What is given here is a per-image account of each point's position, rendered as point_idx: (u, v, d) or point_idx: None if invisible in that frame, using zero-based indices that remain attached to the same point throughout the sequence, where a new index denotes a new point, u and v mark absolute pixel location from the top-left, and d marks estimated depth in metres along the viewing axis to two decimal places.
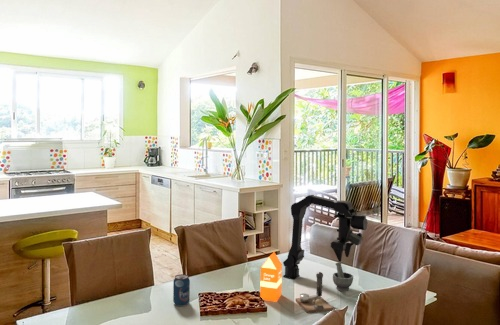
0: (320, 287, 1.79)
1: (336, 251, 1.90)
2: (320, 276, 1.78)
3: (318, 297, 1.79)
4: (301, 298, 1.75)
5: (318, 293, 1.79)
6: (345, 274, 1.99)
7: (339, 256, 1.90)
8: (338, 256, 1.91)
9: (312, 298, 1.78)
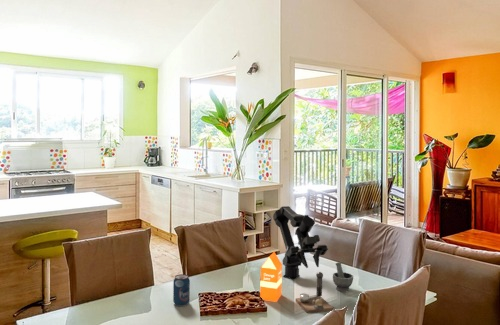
0: (320, 287, 1.79)
1: (300, 259, 1.90)
2: (320, 276, 1.78)
3: (318, 297, 1.79)
4: (301, 298, 1.75)
5: (318, 293, 1.79)
6: (345, 274, 1.99)
7: (303, 262, 1.88)
8: (303, 263, 1.88)
9: (312, 298, 1.78)
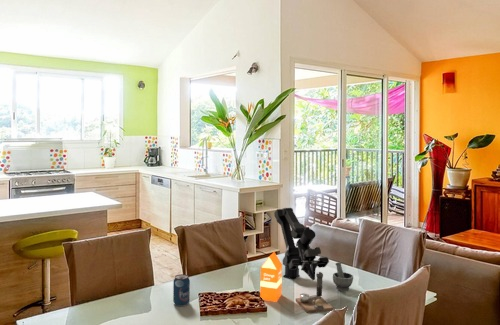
0: (320, 287, 1.79)
1: (306, 271, 1.89)
2: (320, 276, 1.78)
3: (318, 297, 1.79)
4: (301, 298, 1.75)
5: (318, 293, 1.79)
6: (345, 274, 1.99)
7: (310, 274, 1.87)
8: (309, 275, 1.87)
9: (312, 298, 1.78)
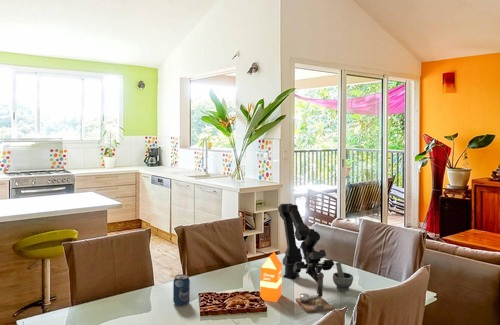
0: (321, 287, 1.78)
1: (311, 274, 1.84)
2: (320, 276, 1.78)
3: (319, 298, 1.79)
4: (301, 298, 1.75)
5: (319, 293, 1.79)
6: (345, 274, 1.99)
7: (314, 277, 1.82)
8: (314, 278, 1.82)
9: (312, 298, 1.77)
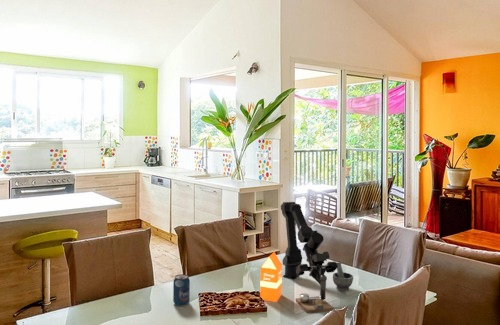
0: (322, 290, 1.75)
1: (315, 277, 1.81)
2: (322, 279, 1.75)
3: None
4: (300, 297, 1.76)
5: (320, 296, 1.76)
6: (345, 274, 1.99)
7: (318, 280, 1.79)
8: (318, 281, 1.79)
9: None
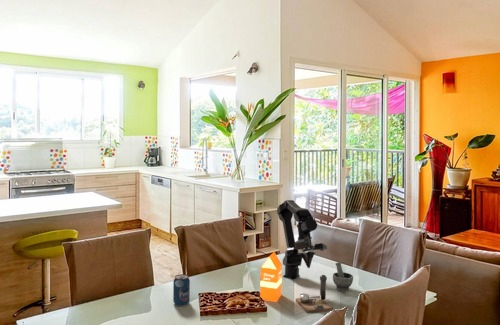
0: (322, 290, 1.75)
1: None
2: (322, 279, 1.75)
3: None
4: (300, 297, 1.76)
5: (320, 296, 1.76)
6: (345, 274, 1.99)
7: None
8: None
9: None
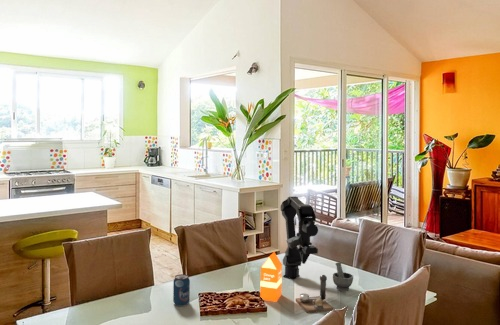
0: (322, 290, 1.75)
1: None
2: (322, 279, 1.75)
3: None
4: (300, 297, 1.76)
5: (320, 296, 1.76)
6: (345, 274, 1.99)
7: None
8: None
9: None
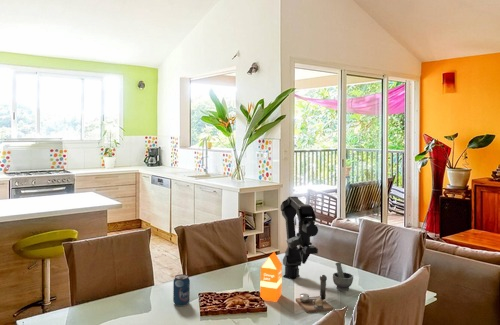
0: (322, 290, 1.75)
1: None
2: (322, 279, 1.75)
3: None
4: (300, 297, 1.76)
5: (320, 296, 1.76)
6: (345, 274, 1.99)
7: None
8: None
9: None
